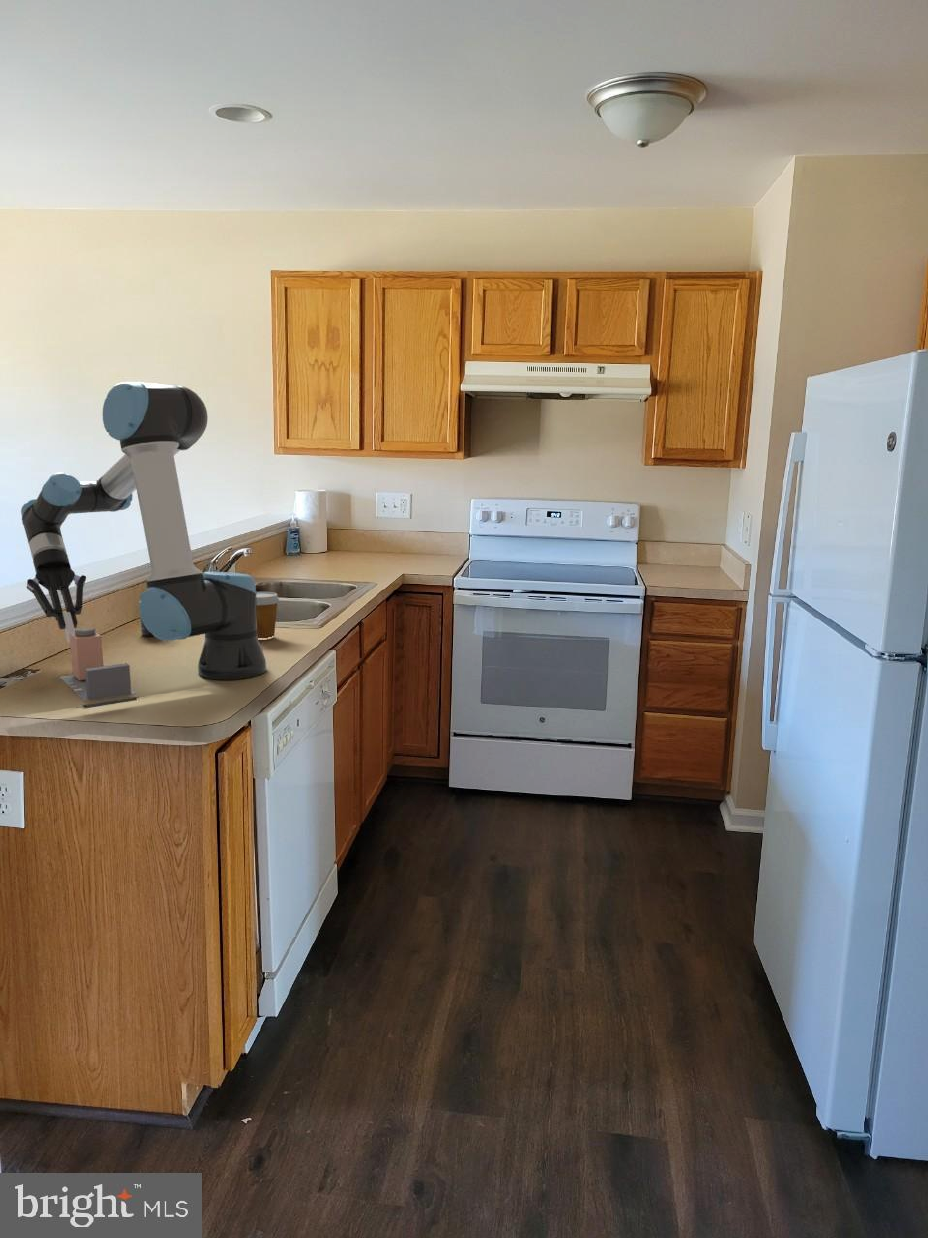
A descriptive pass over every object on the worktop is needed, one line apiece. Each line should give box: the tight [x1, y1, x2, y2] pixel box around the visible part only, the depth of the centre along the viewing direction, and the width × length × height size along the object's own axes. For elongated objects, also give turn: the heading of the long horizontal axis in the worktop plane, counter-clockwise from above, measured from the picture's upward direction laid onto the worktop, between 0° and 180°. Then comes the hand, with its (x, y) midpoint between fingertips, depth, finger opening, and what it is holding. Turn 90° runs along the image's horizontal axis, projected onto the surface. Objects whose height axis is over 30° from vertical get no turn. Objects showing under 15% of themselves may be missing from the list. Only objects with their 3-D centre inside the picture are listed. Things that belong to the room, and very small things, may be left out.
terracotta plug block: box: [69, 627, 104, 680], centre depth 185 cm, size 6×5×10 cm
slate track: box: [59, 662, 138, 709], centre depth 181 cm, size 22×10×8 cm, turn 37°
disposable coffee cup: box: [256, 591, 280, 638], centre depth 231 cm, size 10×10×12 cm
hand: (72, 639), depth 194 cm, fingers closed
